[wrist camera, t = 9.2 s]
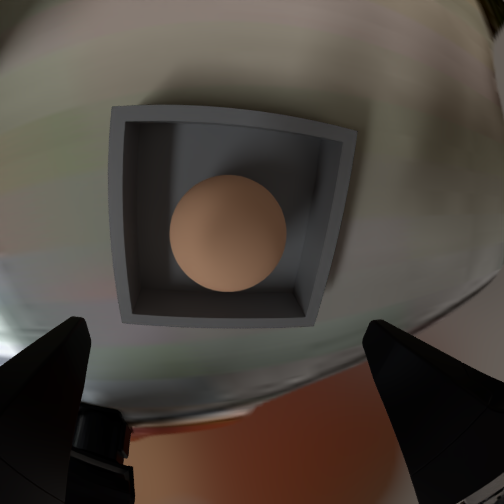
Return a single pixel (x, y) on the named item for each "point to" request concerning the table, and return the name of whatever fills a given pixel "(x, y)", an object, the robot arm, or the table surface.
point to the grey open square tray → (215, 164)
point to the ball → (228, 233)
